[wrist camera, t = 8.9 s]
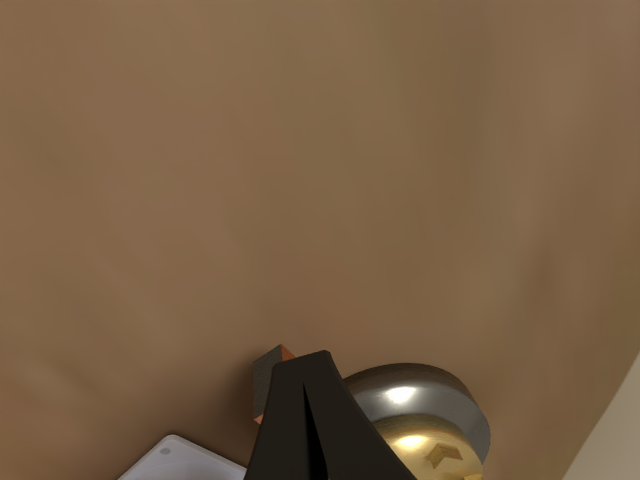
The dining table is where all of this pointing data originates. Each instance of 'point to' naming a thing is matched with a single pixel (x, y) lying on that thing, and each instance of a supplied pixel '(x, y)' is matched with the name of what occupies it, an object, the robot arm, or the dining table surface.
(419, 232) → the dining table surface
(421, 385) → the rounded grey metal base
